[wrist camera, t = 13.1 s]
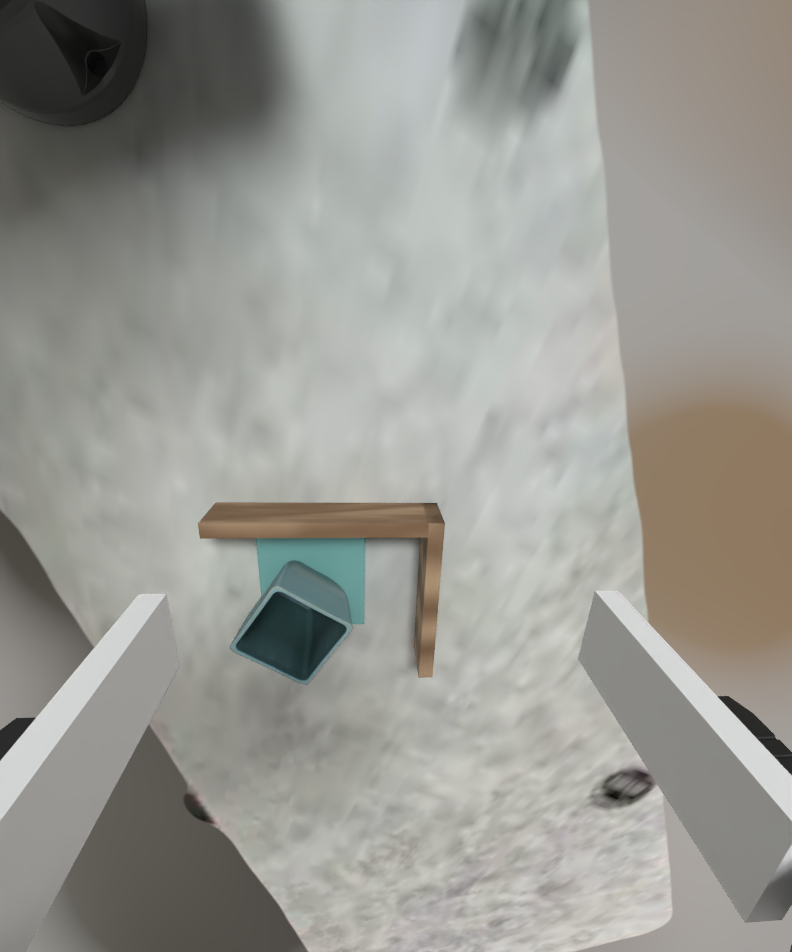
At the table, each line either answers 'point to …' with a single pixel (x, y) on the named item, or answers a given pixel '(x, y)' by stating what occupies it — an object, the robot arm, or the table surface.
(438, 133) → the table surface
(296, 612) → the flower pot
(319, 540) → the pad
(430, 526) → the corner arena
